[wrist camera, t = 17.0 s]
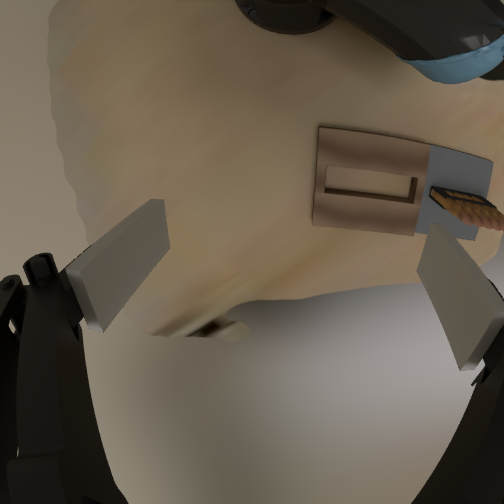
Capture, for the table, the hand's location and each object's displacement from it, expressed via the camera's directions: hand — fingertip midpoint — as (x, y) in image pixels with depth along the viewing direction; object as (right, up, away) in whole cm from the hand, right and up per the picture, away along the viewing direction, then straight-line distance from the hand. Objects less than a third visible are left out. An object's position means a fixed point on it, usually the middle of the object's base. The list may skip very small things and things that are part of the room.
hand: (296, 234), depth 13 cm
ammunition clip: (+30, +8, +22) cm, 38 cm away
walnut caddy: (+15, +10, +25) cm, 31 cm away
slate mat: (+30, +8, +23) cm, 38 cm away
